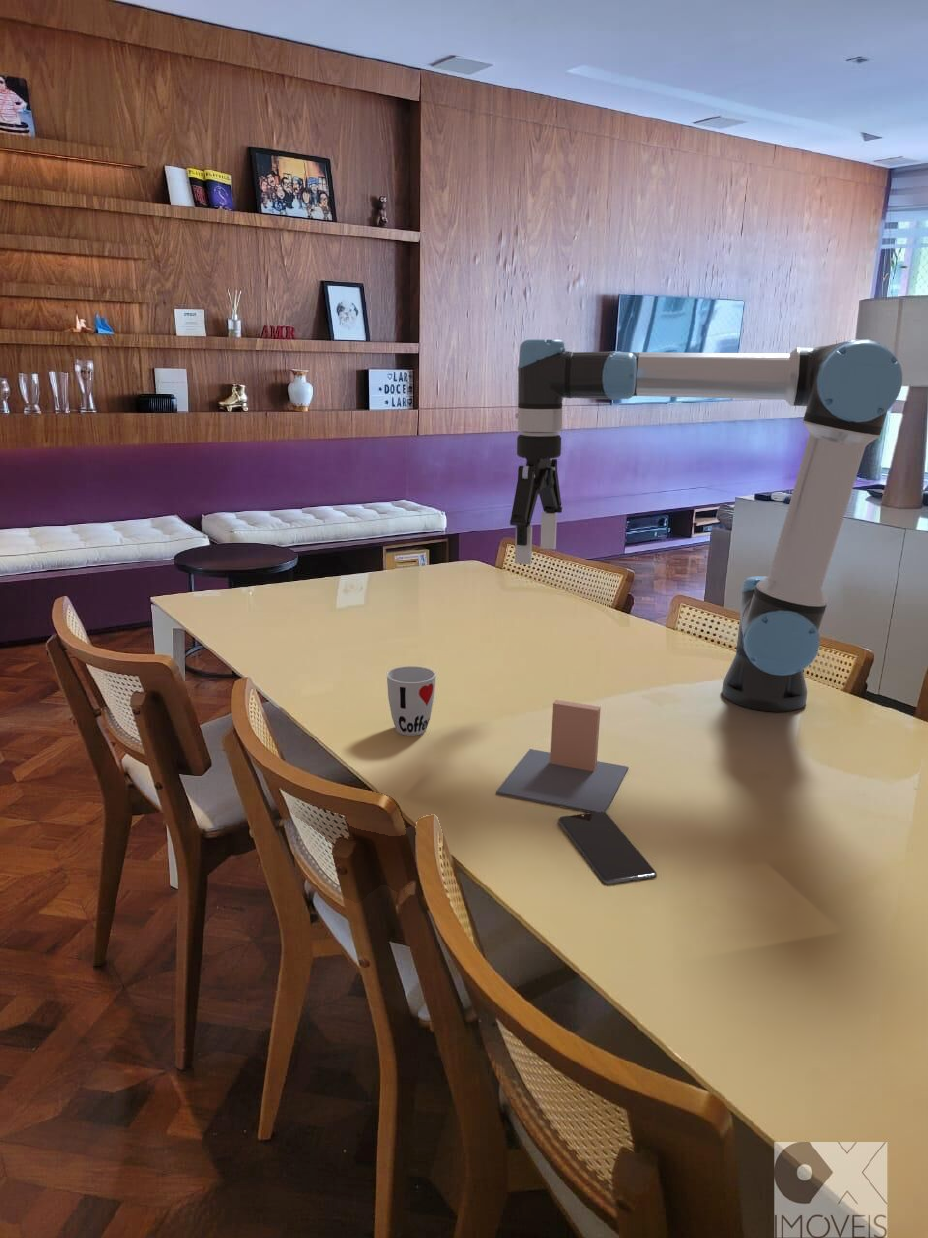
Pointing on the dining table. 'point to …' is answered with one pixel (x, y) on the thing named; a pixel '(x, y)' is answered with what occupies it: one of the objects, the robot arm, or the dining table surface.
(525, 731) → the dining table surface
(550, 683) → the dining table surface
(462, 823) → the dining table surface
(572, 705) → the slab
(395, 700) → the cup
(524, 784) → the mat
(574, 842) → the smartphone
